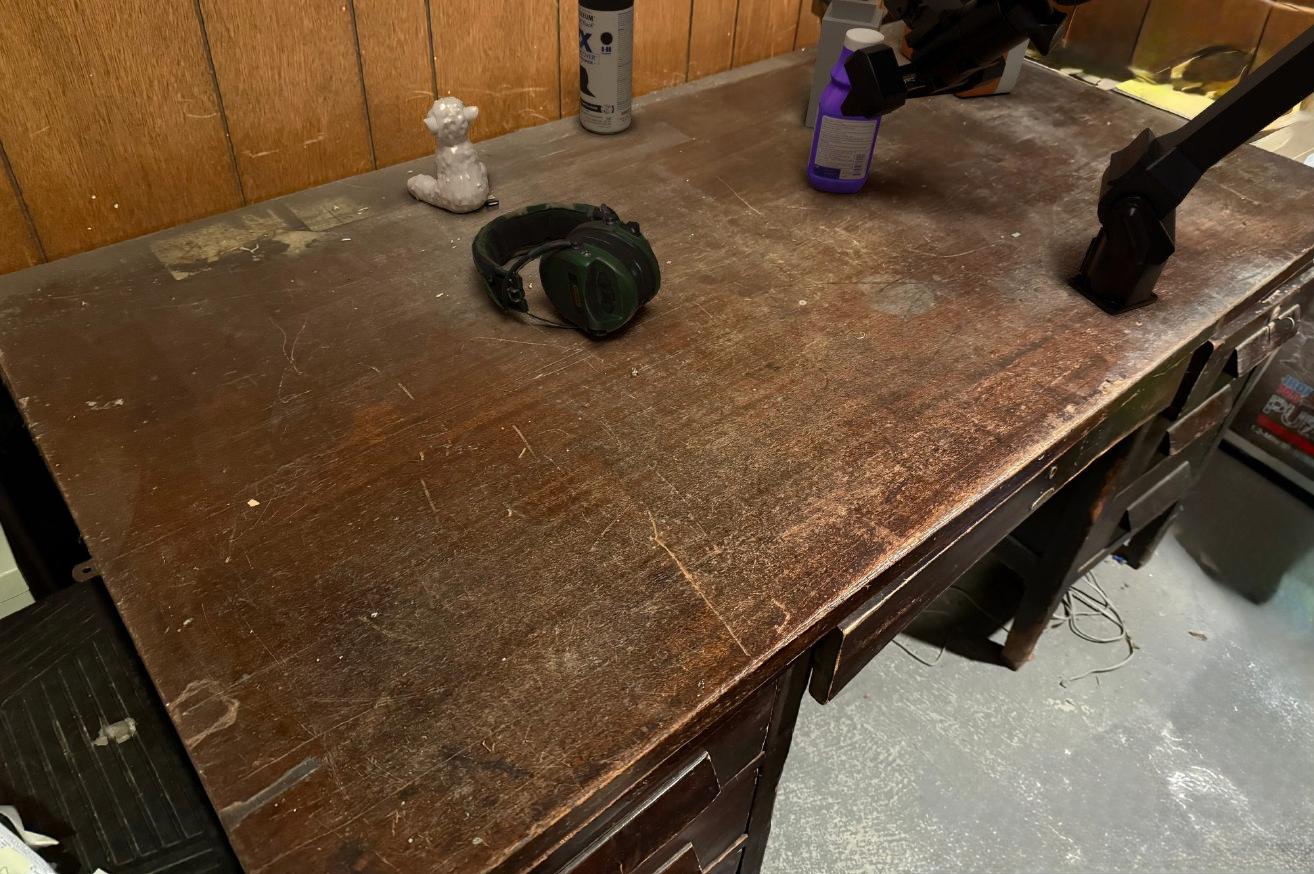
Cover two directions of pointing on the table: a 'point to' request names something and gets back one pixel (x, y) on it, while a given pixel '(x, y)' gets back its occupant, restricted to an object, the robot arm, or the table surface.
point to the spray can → (605, 64)
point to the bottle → (842, 128)
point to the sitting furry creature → (452, 160)
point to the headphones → (570, 263)
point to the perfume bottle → (838, 41)
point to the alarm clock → (999, 85)
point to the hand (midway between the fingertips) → (873, 103)
